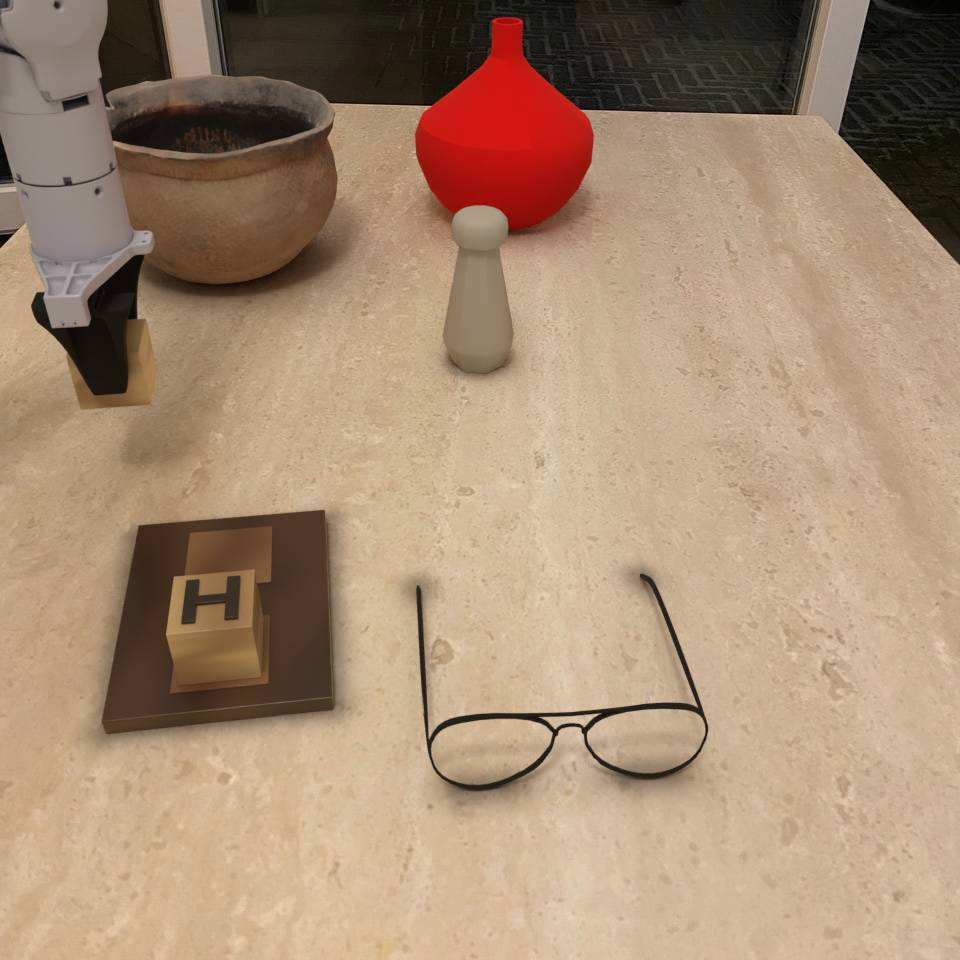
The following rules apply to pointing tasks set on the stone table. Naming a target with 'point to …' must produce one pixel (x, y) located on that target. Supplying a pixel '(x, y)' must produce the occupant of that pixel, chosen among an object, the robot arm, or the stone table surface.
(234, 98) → the ceramic bowl
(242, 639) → the tile
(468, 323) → the salt shaker
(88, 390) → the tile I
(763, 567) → the stone table surface
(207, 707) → the word board
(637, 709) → the glasses
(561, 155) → the vase
